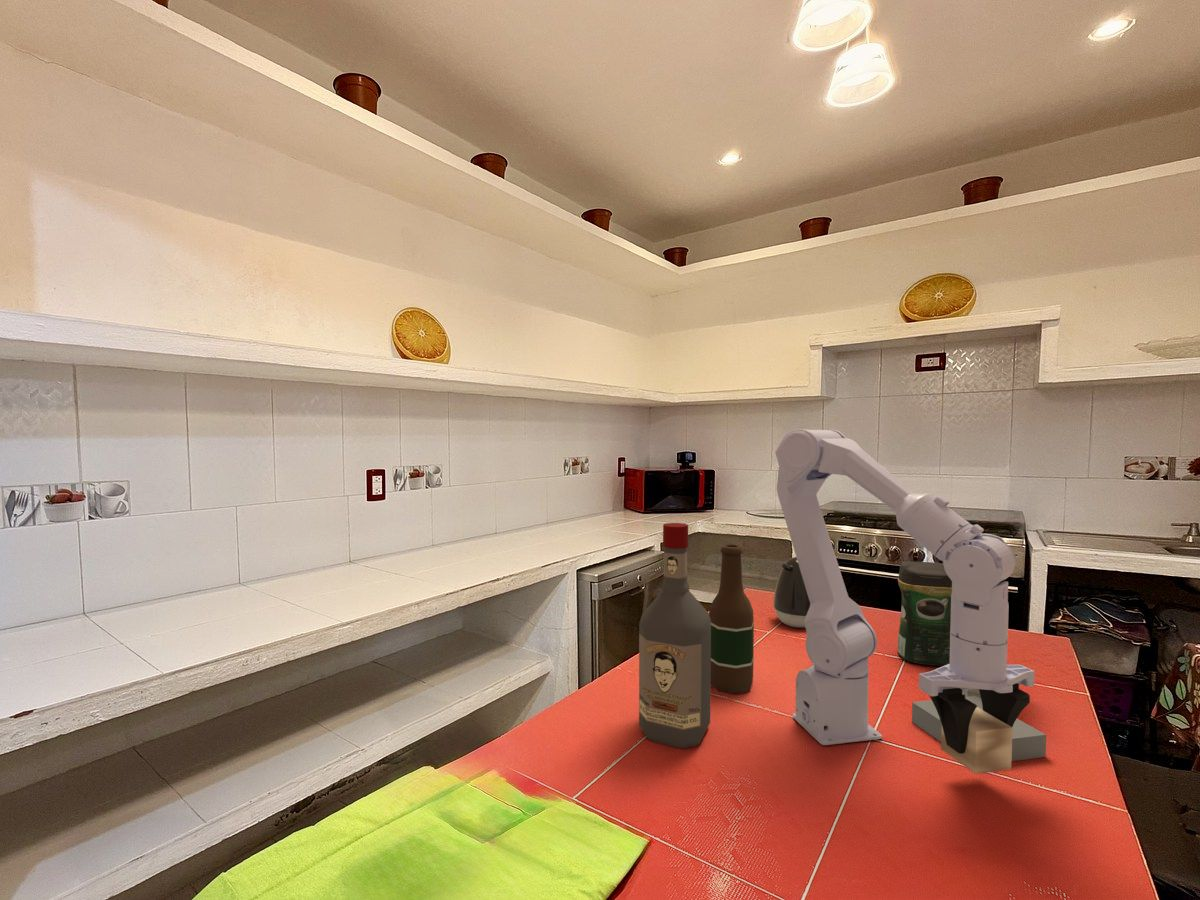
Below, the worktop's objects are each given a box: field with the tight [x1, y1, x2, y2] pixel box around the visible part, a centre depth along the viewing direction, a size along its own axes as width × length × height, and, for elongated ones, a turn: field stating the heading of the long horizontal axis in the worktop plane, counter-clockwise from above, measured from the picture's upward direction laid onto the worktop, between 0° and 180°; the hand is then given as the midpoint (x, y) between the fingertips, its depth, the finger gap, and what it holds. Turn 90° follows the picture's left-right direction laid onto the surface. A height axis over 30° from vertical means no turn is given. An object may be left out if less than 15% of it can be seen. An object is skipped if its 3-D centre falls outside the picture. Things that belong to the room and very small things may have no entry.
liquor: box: [638, 522, 712, 749], centre depth 79 cm, size 9×9×30 cm
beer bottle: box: [708, 543, 755, 695], centre depth 93 cm, size 8×8×24 cm
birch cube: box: [940, 707, 1013, 774], centre depth 66 cm, size 5×5×5 cm
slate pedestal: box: [911, 696, 1047, 762], centre depth 77 cm, size 11×11×3 cm
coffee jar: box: [897, 560, 952, 667], centre depth 104 cm, size 10×8×19 cm
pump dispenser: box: [772, 556, 810, 629], centre depth 123 cm, size 10×10×15 cm
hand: (975, 746), depth 67 cm, fingers closed on birch cube, 5 cm apart
